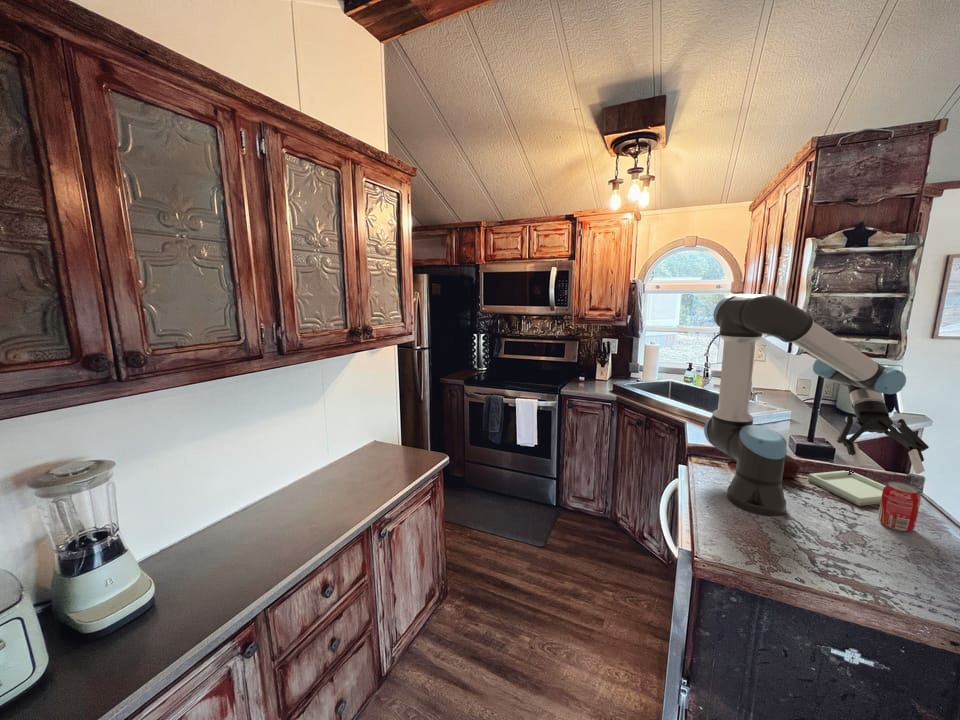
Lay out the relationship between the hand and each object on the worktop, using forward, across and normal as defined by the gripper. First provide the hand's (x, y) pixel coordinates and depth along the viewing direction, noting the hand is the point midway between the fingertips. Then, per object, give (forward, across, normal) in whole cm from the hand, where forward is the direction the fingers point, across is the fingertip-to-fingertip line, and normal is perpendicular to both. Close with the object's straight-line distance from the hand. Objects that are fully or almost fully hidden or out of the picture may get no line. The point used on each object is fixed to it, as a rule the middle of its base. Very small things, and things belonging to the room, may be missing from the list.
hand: (888, 468), depth 112 cm
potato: (-1, +22, -20) cm, 30 cm away
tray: (+2, +2, -17) cm, 18 cm away
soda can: (+16, +1, -3) cm, 16 cm away
